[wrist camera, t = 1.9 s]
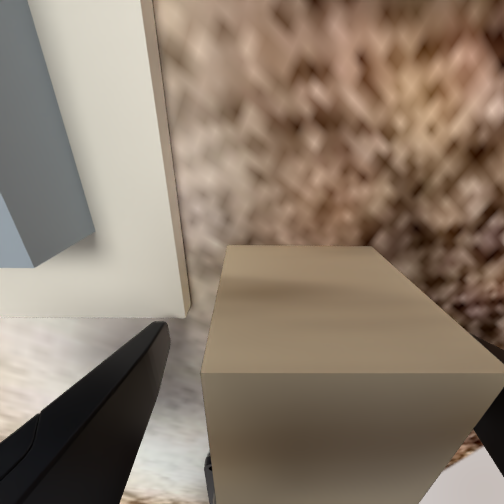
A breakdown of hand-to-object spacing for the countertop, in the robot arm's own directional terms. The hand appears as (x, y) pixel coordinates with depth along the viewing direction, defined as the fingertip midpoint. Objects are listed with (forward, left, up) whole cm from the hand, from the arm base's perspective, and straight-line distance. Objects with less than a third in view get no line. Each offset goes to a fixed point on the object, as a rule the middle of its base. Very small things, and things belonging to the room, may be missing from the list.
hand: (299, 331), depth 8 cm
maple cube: (0, 0, -2) cm, 2 cm away
